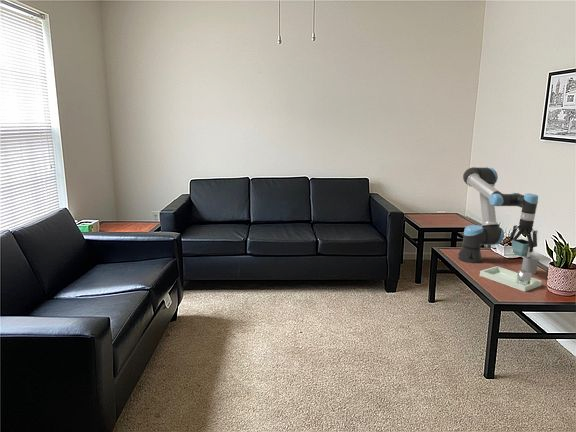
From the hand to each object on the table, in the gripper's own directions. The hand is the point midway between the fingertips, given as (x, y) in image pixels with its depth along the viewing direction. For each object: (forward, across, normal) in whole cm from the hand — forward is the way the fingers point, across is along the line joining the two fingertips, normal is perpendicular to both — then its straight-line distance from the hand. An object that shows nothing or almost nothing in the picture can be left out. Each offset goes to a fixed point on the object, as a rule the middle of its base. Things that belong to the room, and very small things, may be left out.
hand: (520, 254), depth 272 cm
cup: (+14, +1, +13) cm, 19 cm away
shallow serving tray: (+13, +5, -16) cm, 22 cm away
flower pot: (+1, 0, 0) cm, 1 cm away
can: (+12, +13, -16) cm, 24 cm away
